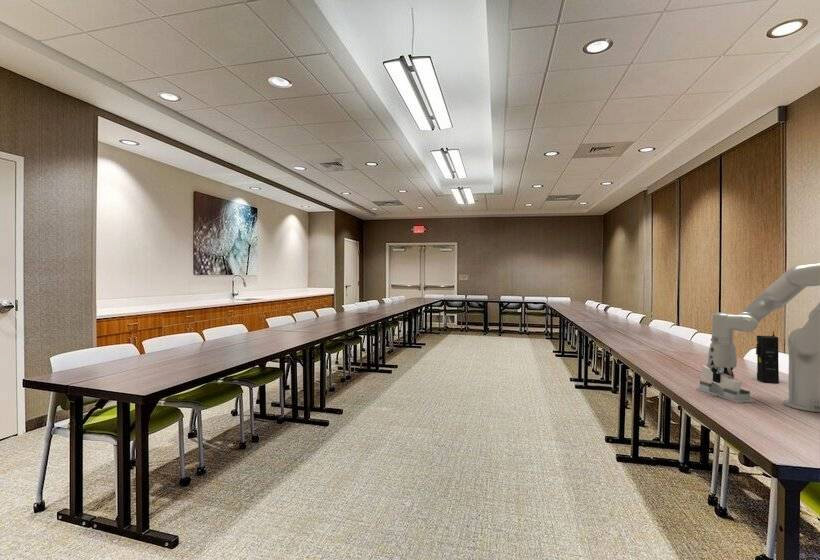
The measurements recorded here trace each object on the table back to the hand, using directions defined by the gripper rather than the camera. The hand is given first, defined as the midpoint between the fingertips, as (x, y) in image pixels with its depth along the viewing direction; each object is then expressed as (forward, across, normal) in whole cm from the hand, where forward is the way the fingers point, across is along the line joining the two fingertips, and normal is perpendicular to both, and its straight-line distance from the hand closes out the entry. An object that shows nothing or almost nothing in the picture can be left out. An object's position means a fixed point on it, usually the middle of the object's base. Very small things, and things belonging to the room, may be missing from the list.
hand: (720, 381), depth 173 cm
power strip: (+1, 0, +1) cm, 2 cm away
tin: (+6, +21, +21) cm, 30 cm away
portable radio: (+6, +42, +16) cm, 45 cm away
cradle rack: (+6, +1, -1) cm, 6 cm away
